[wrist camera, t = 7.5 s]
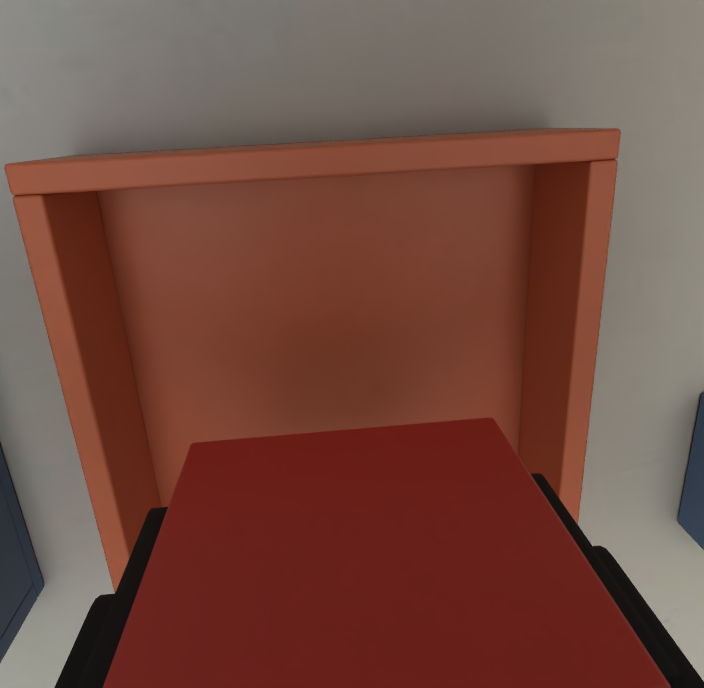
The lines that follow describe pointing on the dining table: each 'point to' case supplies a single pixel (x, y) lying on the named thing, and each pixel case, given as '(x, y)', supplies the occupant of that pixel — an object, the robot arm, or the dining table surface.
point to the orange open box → (319, 297)
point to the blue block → (695, 485)
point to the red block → (371, 571)
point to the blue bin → (14, 565)
